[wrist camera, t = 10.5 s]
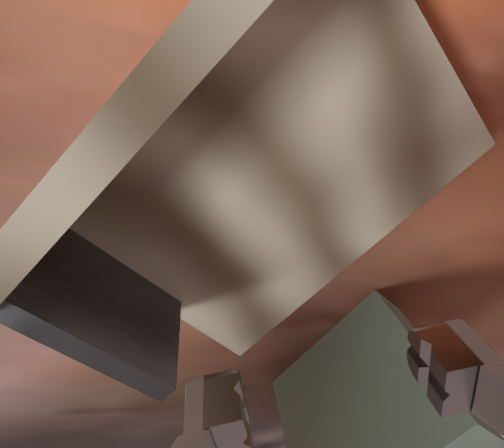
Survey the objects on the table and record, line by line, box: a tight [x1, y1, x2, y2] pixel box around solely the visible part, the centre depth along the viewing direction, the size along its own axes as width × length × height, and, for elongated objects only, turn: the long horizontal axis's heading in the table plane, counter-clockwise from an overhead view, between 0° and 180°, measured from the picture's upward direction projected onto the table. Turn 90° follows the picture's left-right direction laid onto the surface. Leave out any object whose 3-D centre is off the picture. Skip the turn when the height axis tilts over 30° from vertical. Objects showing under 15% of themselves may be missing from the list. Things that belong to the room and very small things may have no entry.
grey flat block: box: [272, 290, 504, 448], centre depth 22 cm, size 3×11×10 cm, turn 139°
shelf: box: [0, 0, 495, 402], centre depth 15 cm, size 20×15×10 cm
